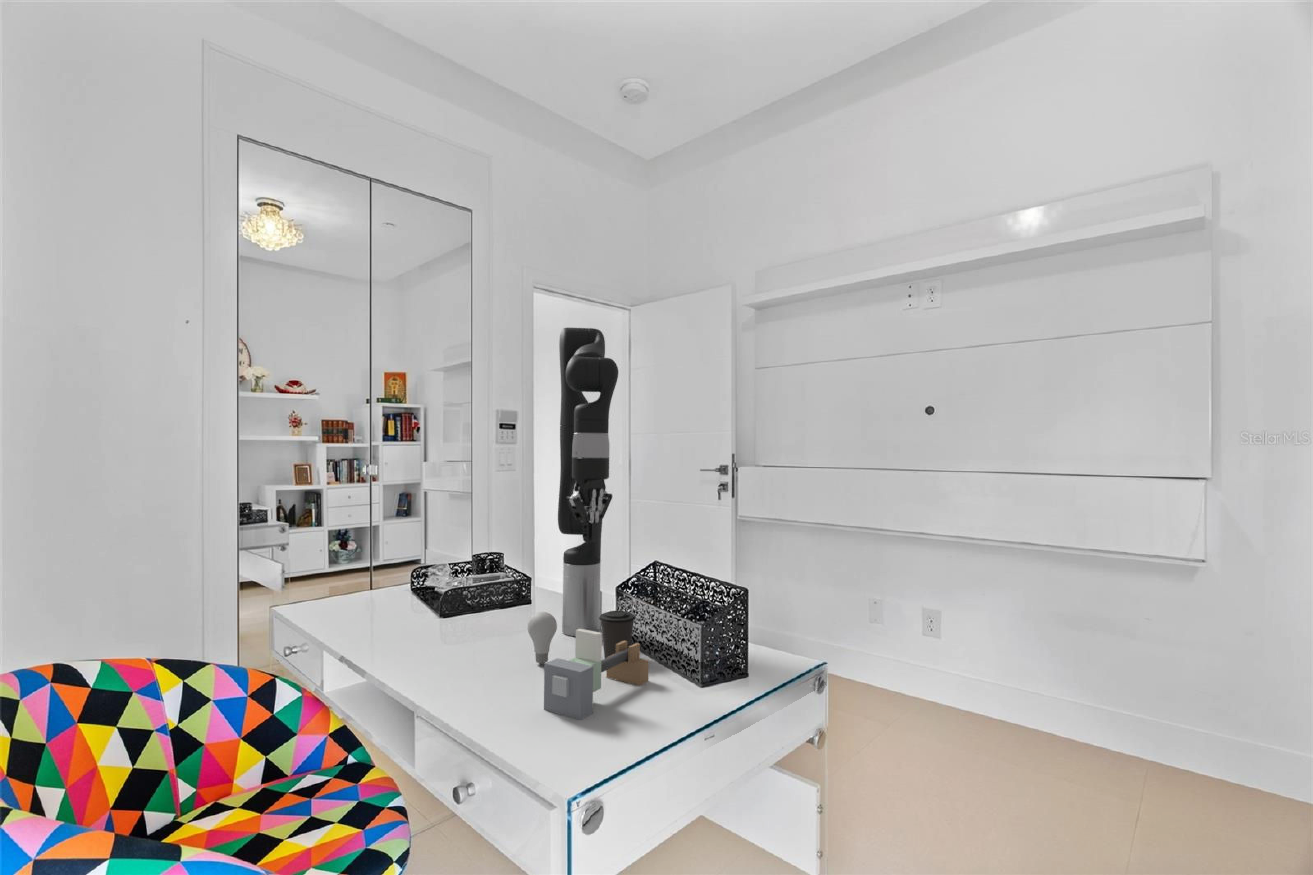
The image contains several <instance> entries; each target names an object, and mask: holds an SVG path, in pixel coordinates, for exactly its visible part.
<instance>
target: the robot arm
mask: <svg viewBox="0 0 1313 875" xmlns="http://www.w3.org/2000/svg"><path fill="white" fill-rule="evenodd" d="M558 343H559V345H558V346H559V347H558V348H559V350H558V351H559V366H560V367H559V368H560V371H559V372H560V415H559V416H560V417H559V421H560V422H559V447H560V448H559V450H560V454H559V455H560V474H559V475H560V477H559V491H558V492H559V493H558V505H557V526H558V529H559V531H560V533H561V534H563V535H571V536H572V535H575V536H576V535H577V536H582V540H583V543H582V544H579V545H577V546H574V547H571V548H568V549H566V550H565V551H563V557H562V560H563V562H562V565H563V566H562V568H563V570H562V616H561V620H562V622H561V623H562V624H561V625H562V630H561V632H562V633H563V634H564V635H567V636H571V637H576V630H578V629H584V630H589V631H594V632H600V630H602V626H601V620H600V619H599V617H600V615H601V614H603V611H602V610H603V609H602V608H603V607H602V606H603V592H602V591H601V566H602V565H601V561H602V560H601V554H602V551H601V550H602V549H601V548H602V532H603V531H602V528H603V519H604V518H605V515H606V513H607V510H608V508H609V506H610V504H611V502H612V499H613V494H612V493H608V491H607V490H606V489H607V488H606V487H607V486H606V484H605V480H608V479H609V478H610V438H609V437H610V436H609V426H610V425H609V424H610V423H609V422H610V420H609V418H610V408H611V403H612V398H613V396H614V392H615V389H616V385H617V383H618V378H619V367H618V365H617V363H616V362H615V360H614V359H613V358H609V357H606V356H605V355H606V340H605V336H604V334H603V332H602V331H601V330H600V329H598V328H595V327H594V328H592V327H563V329H561V331H560V334H559V340H558ZM584 392H585V393H600V394H599V396H598V398H597V399H596V400H594V401H592V402H590V401H589V400H588V399H587V398H586V397H585V395H584Z"/></svg>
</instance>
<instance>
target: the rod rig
mask: <svg viewBox="0 0 1313 875" xmlns="http://www.w3.org/2000/svg"><path fill="white" fill-rule="evenodd" d="M640 654H641V643H639V642H636V643H634V644H631V646H629V647H628V648H627V641H622V642H619V643H617V644H616V654H613V655H611V656H609V657H607V658H606V659H605V658H603V659H601V674H602V673H604V672H606V677H605V678H608V679H611V678H612V679H611V680H615V679H616V680H615V681H620V682H623V681H624V683H628V682H629V684H632V683H633V684H632V685H636V686H641V685H644V684H645V682H646V683H647V682H649V669H650V668H649V665H650V664H649V663H650V661H649V659H648V660H647V659H644V658H643V659H642V658H640V656H641V655H640ZM543 670H544V672H543V673H544V674H543V675H544V677H543V679H544V680H543V684H544V686H543V710H544V711H548V712H552V713H556V714H559V715H563V716H566V717H570V718H573V719H576V720H582V719H584V718H585V717H587V716H590V715H591V714H592V713H593V709H594V707H593V704H594V700H593V699H594V692H593V666H589V665H585V664H581V663H576V662H572V661H568V660H567V659H562V658H559V657H558V658H555V659H552V660H550V661H547V662H546V663H544V669H543ZM643 683H644V684H643Z"/></svg>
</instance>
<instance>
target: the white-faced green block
mask: <svg viewBox="0 0 1313 875" xmlns="http://www.w3.org/2000/svg"><path fill="white" fill-rule="evenodd" d="M602 644H603V637H602V632H600V631H599V632H594V631H589V630H584V629H578V630H576V636H575V650H574V651H575V652H574V653H575V656H574V657H573V658H571V659H569V660H567V661H572V662H576V663H581V664H585V665H589V666H593V693H595V692H597V691H599V690H601V689H602V673H601V660H602V656H603V655H602V651H603V650H602V648H603V647H602Z"/></svg>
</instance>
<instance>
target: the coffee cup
mask: <svg viewBox="0 0 1313 875" xmlns="http://www.w3.org/2000/svg"><path fill="white" fill-rule="evenodd" d="M599 619H600V620H601V633H602V644H603V647H602V648H603V656H604V658H603V659H606V658H607V657H609V656H611V655H613V654H616V644H617V643H619V642H622V641H627V648H628V647H629V646H631V645H632V636H633V629H634V622H635V620H636V619H637V617H636V616H635V614H634V613H632V612H627V611H624V610H610V611H608V612H607V611H606V612H602V614H601V615H600V617H599Z"/></svg>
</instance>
